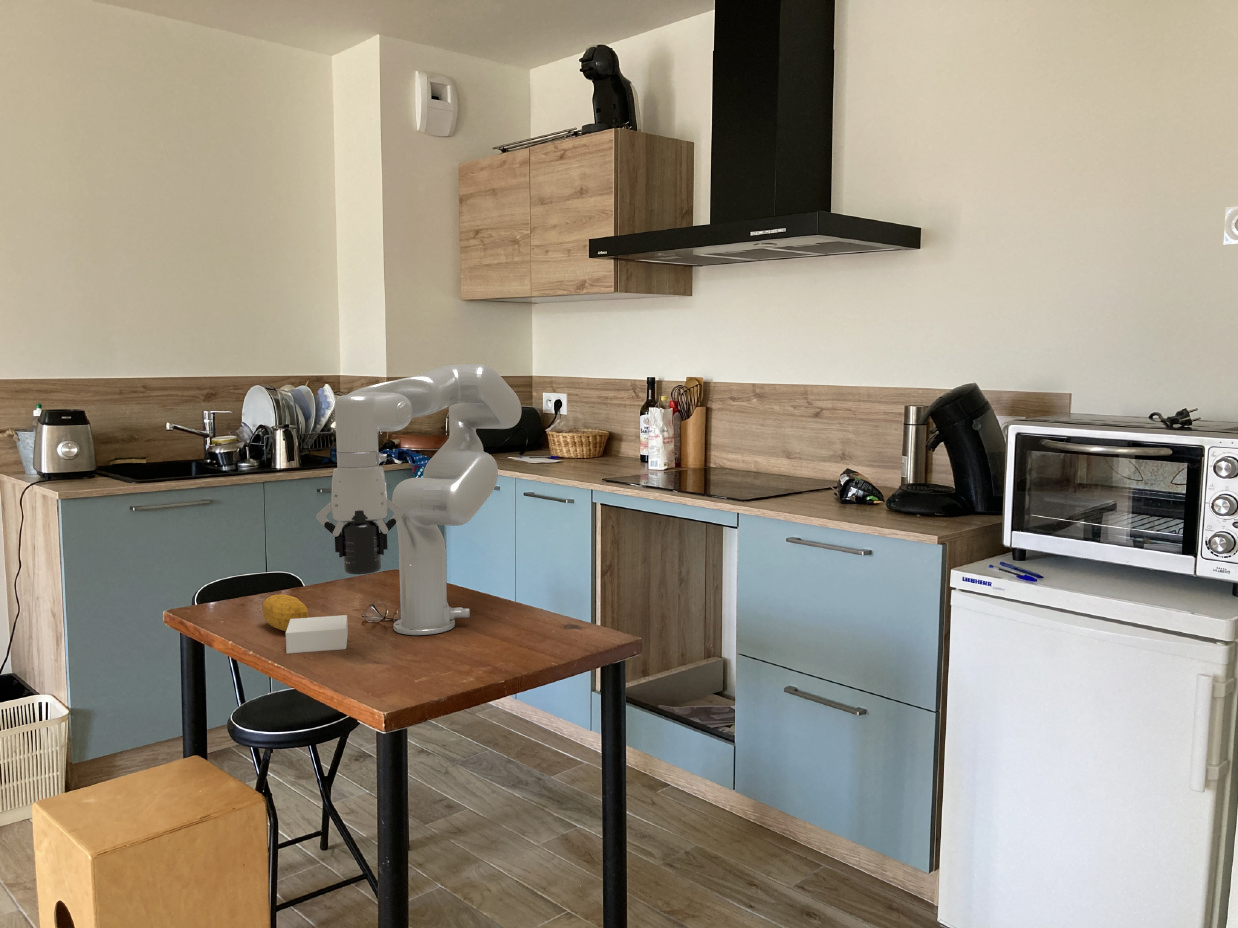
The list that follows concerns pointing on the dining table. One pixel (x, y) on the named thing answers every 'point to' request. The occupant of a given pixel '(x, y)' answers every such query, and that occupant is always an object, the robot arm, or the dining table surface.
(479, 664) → the dining table surface
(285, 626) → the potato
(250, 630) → the dining table surface
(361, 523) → the supplement bottle
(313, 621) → the stand
